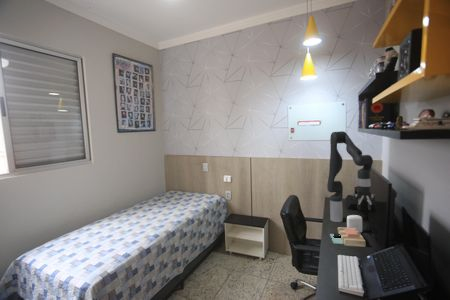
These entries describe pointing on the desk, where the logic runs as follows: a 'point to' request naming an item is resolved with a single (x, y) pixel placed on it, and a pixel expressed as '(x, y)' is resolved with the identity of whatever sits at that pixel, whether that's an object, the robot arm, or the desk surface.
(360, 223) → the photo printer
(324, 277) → the desk surface
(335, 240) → the mat
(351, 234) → the card
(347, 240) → the deck
